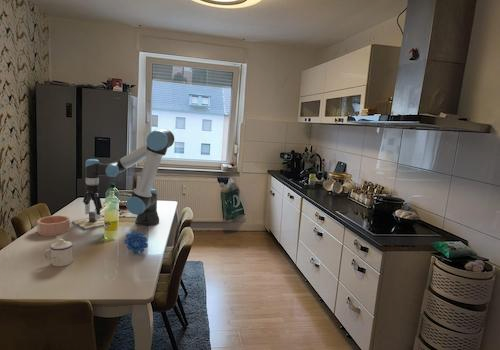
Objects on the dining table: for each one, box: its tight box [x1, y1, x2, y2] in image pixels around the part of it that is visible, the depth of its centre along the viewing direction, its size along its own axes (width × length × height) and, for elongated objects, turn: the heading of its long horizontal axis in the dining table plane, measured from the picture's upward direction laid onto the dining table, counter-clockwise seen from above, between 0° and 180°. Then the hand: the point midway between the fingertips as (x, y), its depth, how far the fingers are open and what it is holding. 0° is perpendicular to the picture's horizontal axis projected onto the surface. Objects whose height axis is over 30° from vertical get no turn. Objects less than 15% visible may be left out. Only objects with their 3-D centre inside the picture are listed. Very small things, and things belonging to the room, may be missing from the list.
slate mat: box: [70, 221, 105, 233], centre depth 210 cm, size 22×22×1 cm
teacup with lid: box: [42, 238, 73, 268], centre depth 155 cm, size 12×9×12 cm
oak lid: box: [71, 210, 105, 230], centre depth 210 cm, size 18×18×7 cm
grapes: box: [124, 230, 149, 254], centre depth 171 cm, size 12×7×12 cm, turn 105°
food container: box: [118, 191, 132, 201], centre depth 256 cm, size 12×6×10 cm, turn 84°
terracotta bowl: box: [36, 215, 71, 237], centre depth 194 cm, size 16×16×7 cm
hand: (92, 216), depth 210 cm, fingers open, 13 cm apart
